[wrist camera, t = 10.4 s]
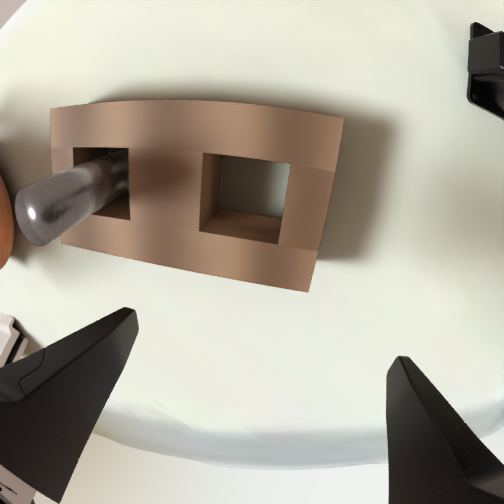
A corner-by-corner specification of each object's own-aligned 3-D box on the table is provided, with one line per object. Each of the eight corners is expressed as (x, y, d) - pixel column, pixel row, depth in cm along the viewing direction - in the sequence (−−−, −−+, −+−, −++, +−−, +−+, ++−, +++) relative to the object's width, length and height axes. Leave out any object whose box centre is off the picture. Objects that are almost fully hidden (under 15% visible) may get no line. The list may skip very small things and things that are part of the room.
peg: (149, 148, 19) (47, 188, 10) (149, 188, 20) (57, 251, 12) (115, 147, 19) (11, 185, 10) (115, 185, 21) (21, 241, 12)
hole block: (335, 117, 16) (344, 118, 13) (308, 260, 21) (308, 292, 17) (85, 104, 18) (50, 108, 14) (90, 223, 23) (61, 243, 19)
